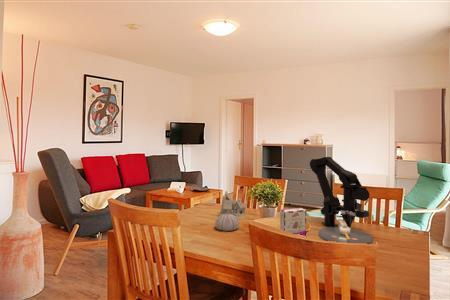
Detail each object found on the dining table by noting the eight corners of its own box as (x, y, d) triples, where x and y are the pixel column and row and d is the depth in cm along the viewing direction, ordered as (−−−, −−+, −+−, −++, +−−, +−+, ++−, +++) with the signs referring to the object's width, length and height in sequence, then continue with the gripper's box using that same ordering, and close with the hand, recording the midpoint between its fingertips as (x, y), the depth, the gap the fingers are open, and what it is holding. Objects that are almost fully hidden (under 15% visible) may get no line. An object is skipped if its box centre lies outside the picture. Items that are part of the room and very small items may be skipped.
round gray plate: (311, 229, 166) (311, 226, 166) (355, 228, 168) (355, 225, 168) (331, 246, 141) (331, 243, 141) (383, 245, 143) (383, 241, 143)
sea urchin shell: (235, 233, 160) (235, 218, 159) (210, 230, 164) (210, 215, 164) (242, 226, 172) (242, 212, 172) (219, 223, 176) (219, 209, 176)
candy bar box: (300, 241, 148) (301, 207, 147) (306, 245, 143) (307, 210, 142) (279, 243, 145) (279, 209, 144) (284, 247, 140) (284, 211, 139)
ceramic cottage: (216, 217, 188) (218, 193, 188) (223, 212, 204) (225, 189, 204) (241, 221, 184) (243, 196, 184) (246, 215, 200) (248, 192, 200)
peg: (354, 241, 144) (354, 233, 143) (343, 240, 144) (343, 232, 144) (345, 226, 166) (345, 219, 165) (335, 226, 167) (335, 219, 166)
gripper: (375, 198, 158) (374, 229, 158) (342, 193, 173) (342, 221, 174) (362, 201, 151) (362, 232, 152) (330, 195, 167) (330, 224, 167)
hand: (349, 227), depth 161 cm, fingers closed
